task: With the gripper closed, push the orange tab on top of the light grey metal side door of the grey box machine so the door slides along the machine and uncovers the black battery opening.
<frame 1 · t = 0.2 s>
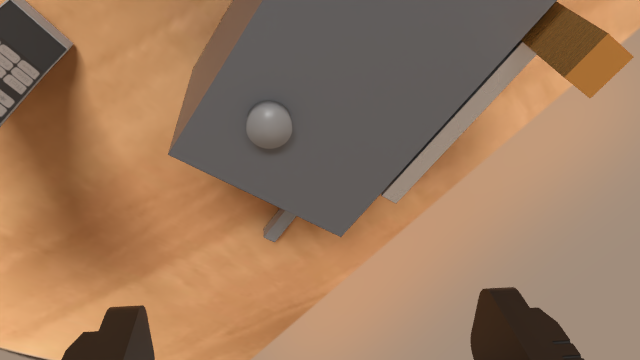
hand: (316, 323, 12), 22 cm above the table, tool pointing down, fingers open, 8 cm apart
vintage mobile phone: (22, 42, 30), on the table
side door: (455, 97, 26), point 7 cm above the table, slide at 0.0 cm
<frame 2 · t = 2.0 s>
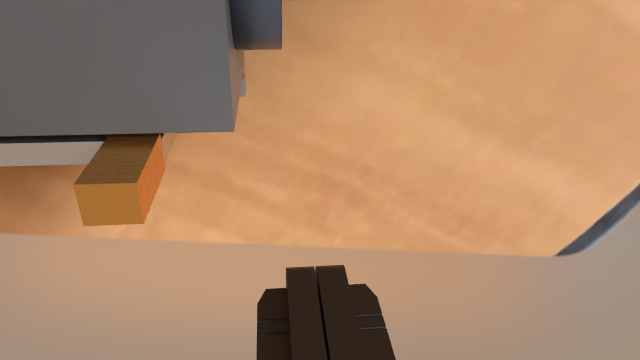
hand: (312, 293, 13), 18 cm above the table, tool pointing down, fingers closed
side door: (29, 136, 22), point 7 cm above the table, slide at 0.0 cm
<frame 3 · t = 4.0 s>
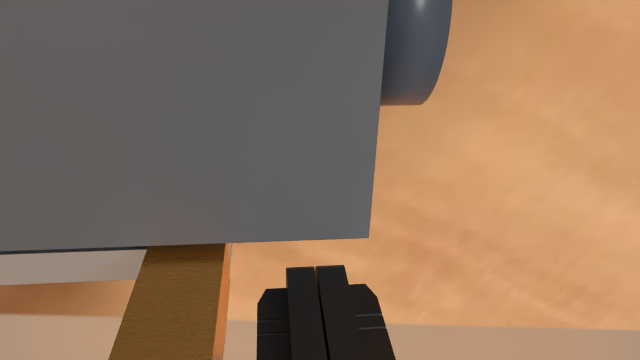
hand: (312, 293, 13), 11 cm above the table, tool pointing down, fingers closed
side door: (28, 230, 15), point 7 cm above the table, slide at 0.8 cm, touching gripper
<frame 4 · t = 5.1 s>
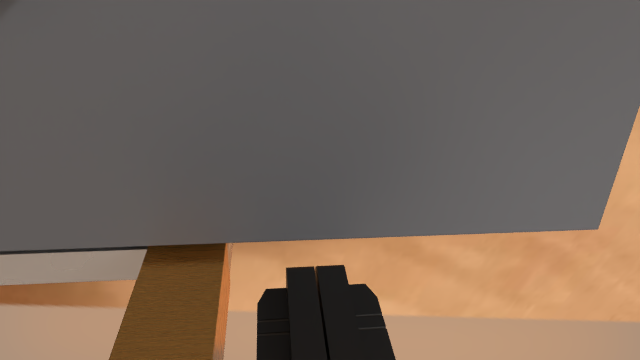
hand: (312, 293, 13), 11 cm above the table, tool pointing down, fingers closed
side door: (29, 230, 15), point 7 cm above the table, slide at 7.1 cm, touching gripper
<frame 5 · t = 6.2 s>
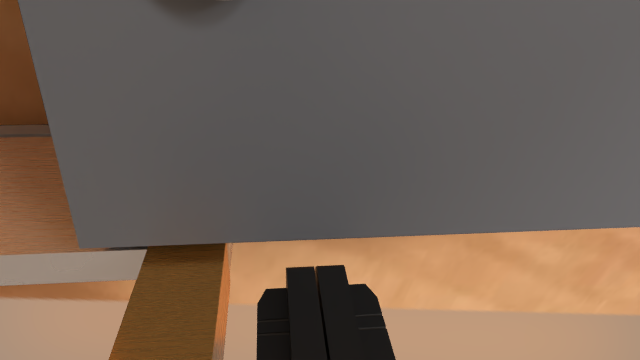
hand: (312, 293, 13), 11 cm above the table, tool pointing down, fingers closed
side door: (29, 231, 15), point 7 cm above the table, slide at 11.5 cm, touching gripper
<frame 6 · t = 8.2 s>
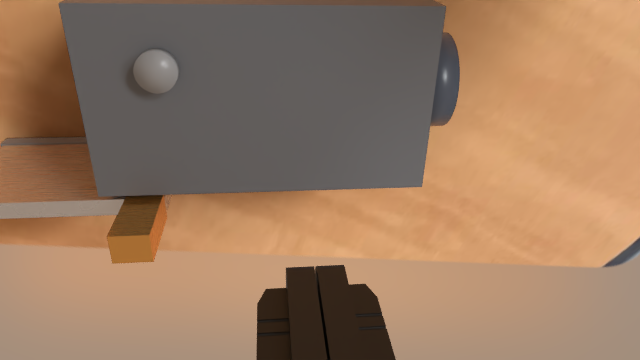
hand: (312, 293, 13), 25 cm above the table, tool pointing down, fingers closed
side door: (66, 192, 30), point 7 cm above the table, slide at 11.7 cm
grey box machine: (262, 58, 35), on the table
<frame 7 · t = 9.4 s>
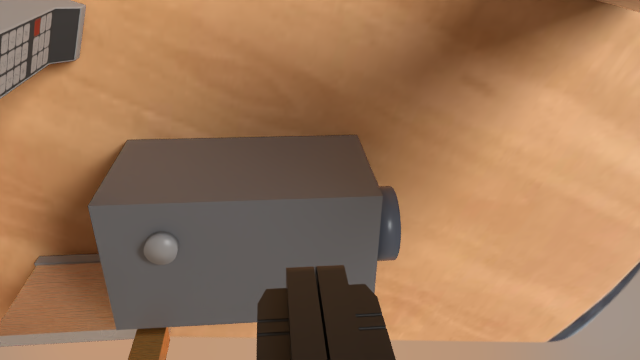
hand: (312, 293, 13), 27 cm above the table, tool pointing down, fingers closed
vintage mobile phone: (47, 19, 35), on the table
side door: (90, 317, 37), point 7 cm above the table, slide at 11.7 cm
grey box machine: (247, 192, 42), on the table
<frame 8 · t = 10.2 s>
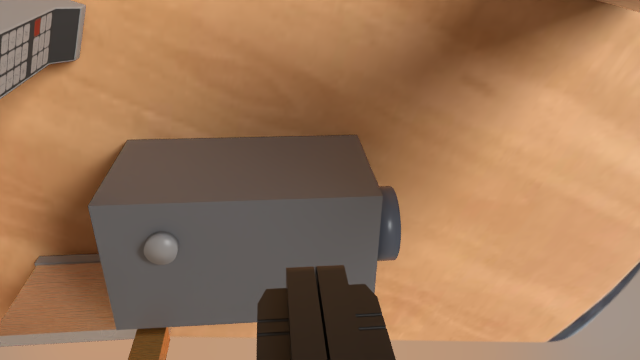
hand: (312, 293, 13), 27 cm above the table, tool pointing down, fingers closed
vintage mobile phone: (47, 19, 35), on the table
side door: (90, 317, 37), point 7 cm above the table, slide at 11.7 cm
grey box machine: (247, 192, 42), on the table
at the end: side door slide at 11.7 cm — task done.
